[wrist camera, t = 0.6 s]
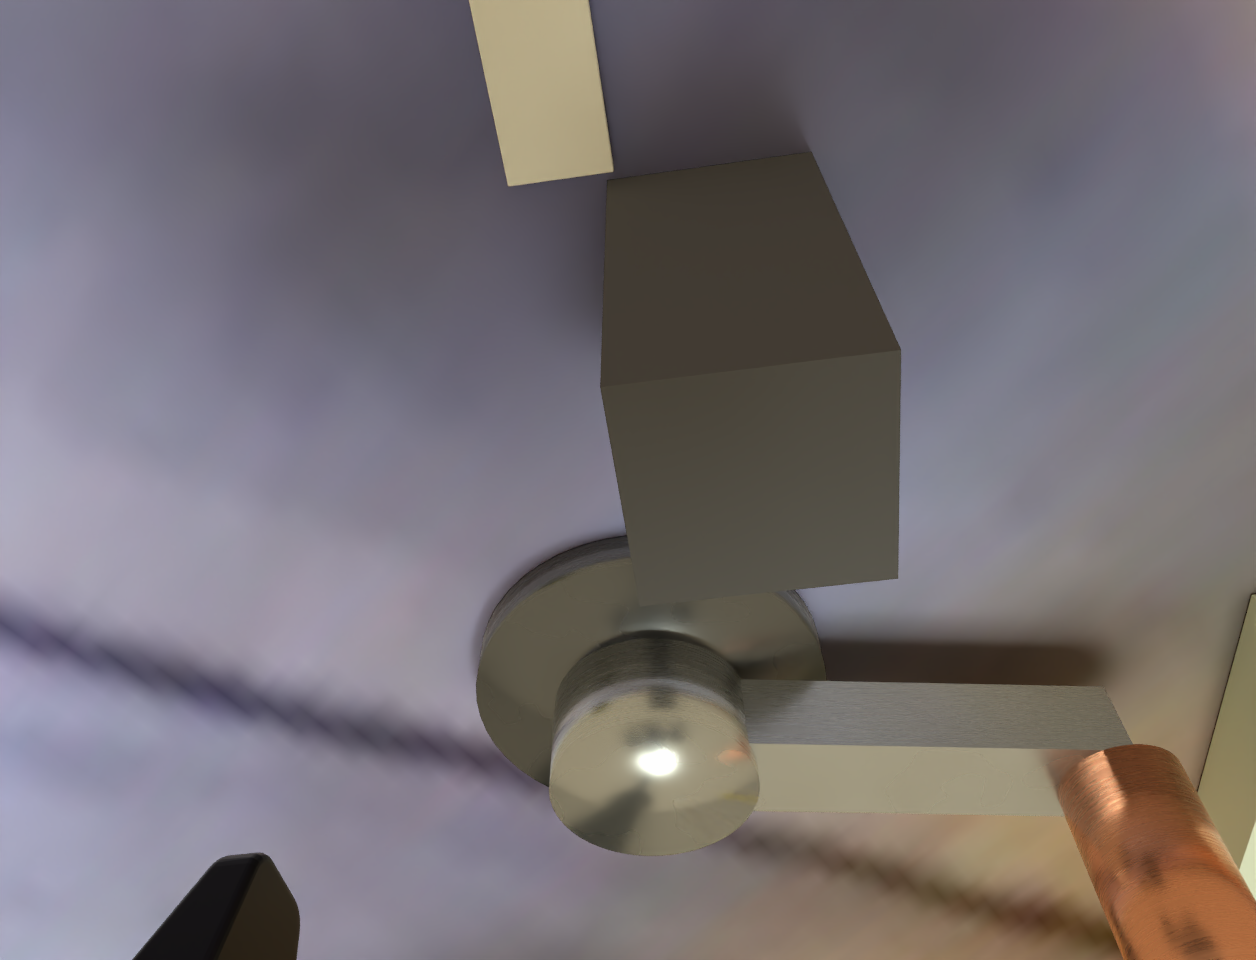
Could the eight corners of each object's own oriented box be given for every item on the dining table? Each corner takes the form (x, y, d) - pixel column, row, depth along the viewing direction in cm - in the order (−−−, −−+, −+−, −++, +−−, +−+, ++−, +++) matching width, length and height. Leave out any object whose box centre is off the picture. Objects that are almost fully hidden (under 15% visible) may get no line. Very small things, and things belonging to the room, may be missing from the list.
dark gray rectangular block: (818, 334, 20) (898, 578, 14) (634, 357, 20) (639, 605, 14) (810, 151, 18) (900, 349, 12) (607, 180, 18) (600, 387, 12)
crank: (554, 770, 25) (536, 1059, 20) (554, 636, 22) (532, 926, 17) (1114, 780, 25) (1250, 1067, 20) (1175, 649, 23) (1351, 937, 17)
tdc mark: (613, 166, 18) (613, 171, 18) (509, 180, 18) (508, 186, 18) (584, -26, 16) (584, -22, 16) (469, -8, 16) (468, -5, 16)
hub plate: (825, 760, 27) (831, 793, 26) (517, 790, 27) (514, 822, 27) (813, 514, 22) (821, 544, 21) (444, 556, 23) (438, 587, 22)
